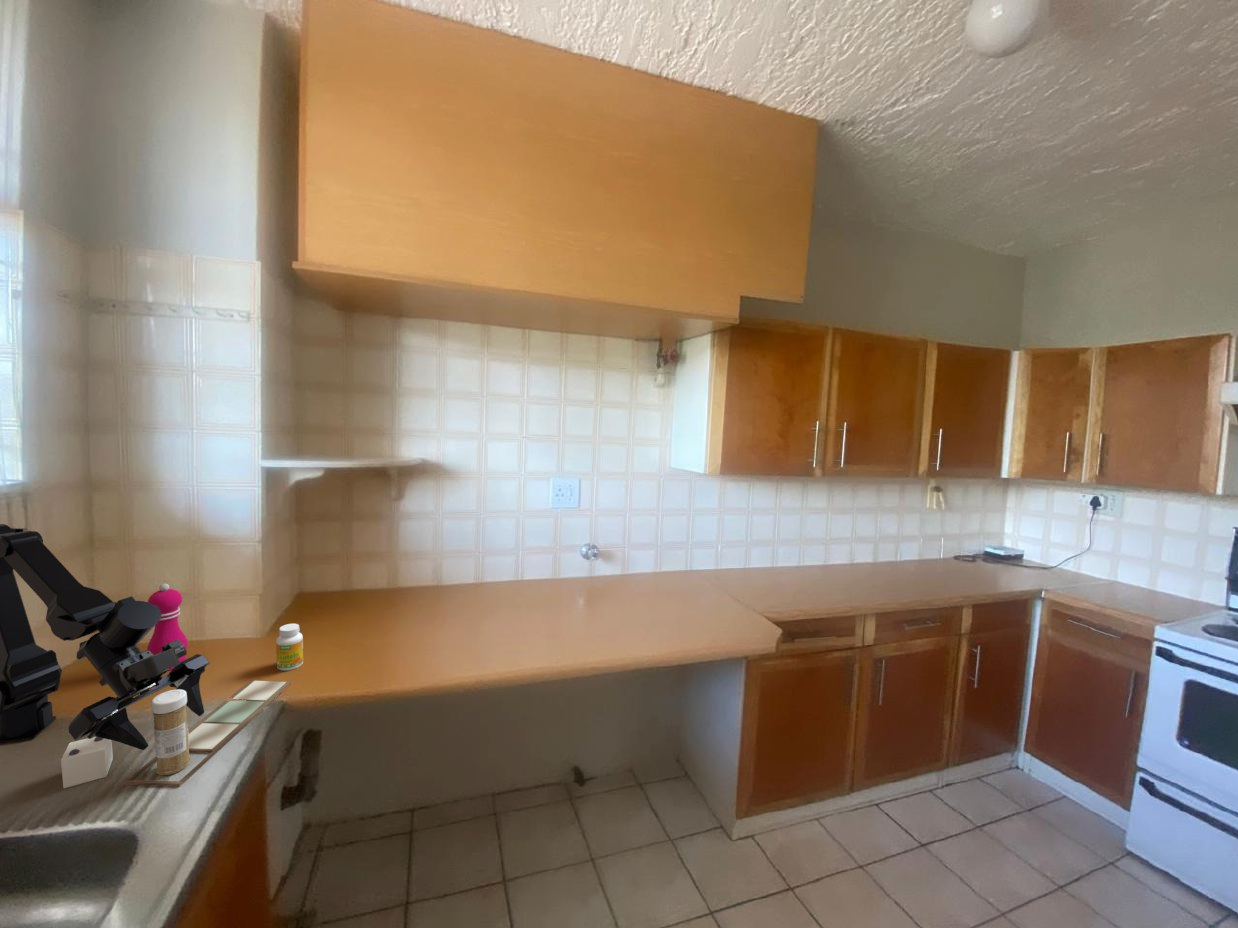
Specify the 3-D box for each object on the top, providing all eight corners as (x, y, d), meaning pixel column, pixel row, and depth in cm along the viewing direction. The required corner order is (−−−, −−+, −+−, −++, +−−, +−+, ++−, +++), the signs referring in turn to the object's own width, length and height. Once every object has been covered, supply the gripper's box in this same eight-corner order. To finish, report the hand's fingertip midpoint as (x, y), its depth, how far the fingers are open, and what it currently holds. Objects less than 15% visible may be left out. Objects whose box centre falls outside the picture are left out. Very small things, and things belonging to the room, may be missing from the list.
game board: (123, 784, 84) (123, 781, 84) (250, 682, 114) (250, 679, 114) (179, 786, 84) (179, 783, 84) (291, 683, 114) (291, 681, 114)
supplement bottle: (277, 673, 118) (276, 634, 117) (276, 662, 122) (275, 625, 121) (304, 667, 121) (303, 629, 120) (302, 657, 125) (301, 620, 124)
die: (63, 788, 82) (60, 756, 82) (72, 769, 86) (69, 739, 86) (106, 776, 85) (104, 745, 84) (112, 758, 89) (110, 729, 88)
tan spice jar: (193, 754, 91) (189, 685, 89) (187, 771, 87) (183, 699, 86) (159, 762, 89) (155, 691, 87) (152, 780, 85) (147, 706, 83)
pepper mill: (155, 676, 114) (150, 592, 111) (142, 666, 117) (137, 584, 115) (194, 663, 120) (190, 582, 118) (180, 654, 124) (176, 576, 121)
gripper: (76, 661, 77) (139, 740, 76) (199, 612, 95) (250, 676, 94) (41, 701, 79) (102, 778, 79) (167, 645, 97) (217, 708, 97)
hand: (175, 730), depth 87 cm, fingers open, 9 cm apart
